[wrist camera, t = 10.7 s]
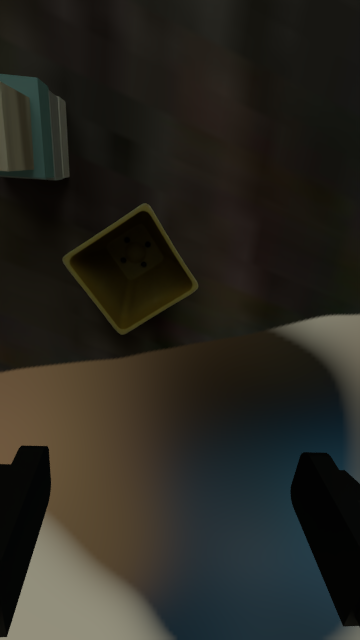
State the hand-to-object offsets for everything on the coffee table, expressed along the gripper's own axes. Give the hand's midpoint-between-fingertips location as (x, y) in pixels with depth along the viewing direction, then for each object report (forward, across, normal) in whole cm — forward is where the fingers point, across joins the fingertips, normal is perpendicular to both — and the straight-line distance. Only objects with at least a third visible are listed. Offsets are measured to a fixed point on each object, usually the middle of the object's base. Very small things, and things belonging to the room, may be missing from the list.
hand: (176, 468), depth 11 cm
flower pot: (+30, +3, 0) cm, 30 cm away
